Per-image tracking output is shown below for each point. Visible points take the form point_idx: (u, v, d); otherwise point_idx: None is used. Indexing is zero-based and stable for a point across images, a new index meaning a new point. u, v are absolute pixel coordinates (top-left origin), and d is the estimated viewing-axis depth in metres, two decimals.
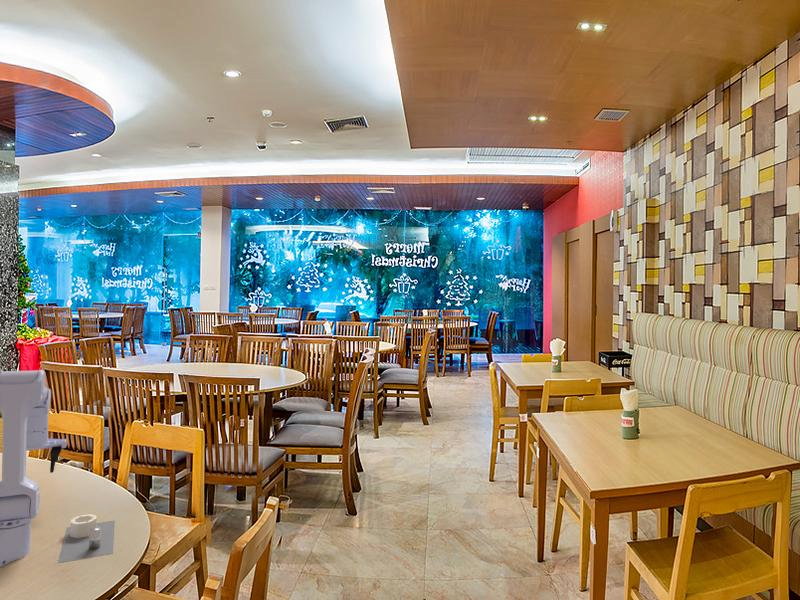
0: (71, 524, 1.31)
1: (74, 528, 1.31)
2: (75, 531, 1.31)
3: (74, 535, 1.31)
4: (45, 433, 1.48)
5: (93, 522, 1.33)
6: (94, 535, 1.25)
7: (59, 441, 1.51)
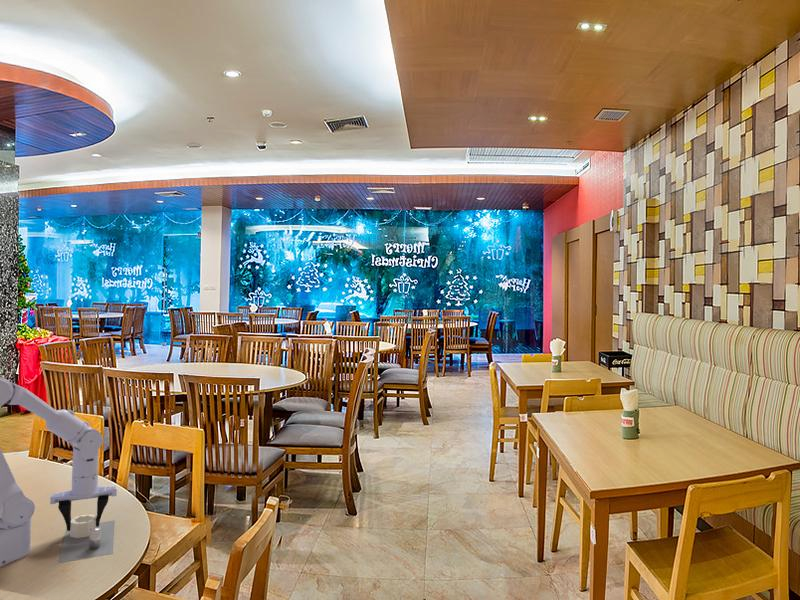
0: (71, 524, 1.31)
1: (74, 528, 1.31)
2: (75, 531, 1.31)
3: (74, 535, 1.31)
4: (95, 479, 1.34)
5: (93, 522, 1.33)
6: (94, 535, 1.25)
7: (109, 489, 1.36)
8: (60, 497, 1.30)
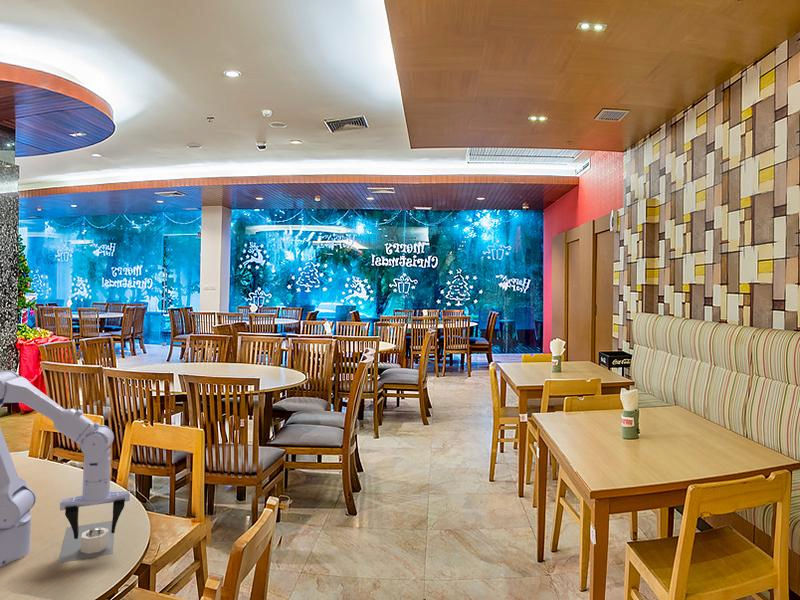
0: (82, 539, 1.24)
1: (85, 543, 1.24)
2: (86, 547, 1.24)
3: (85, 550, 1.24)
4: (107, 483, 1.26)
5: (105, 536, 1.26)
6: (94, 535, 1.25)
7: (122, 493, 1.29)
8: (70, 502, 1.23)
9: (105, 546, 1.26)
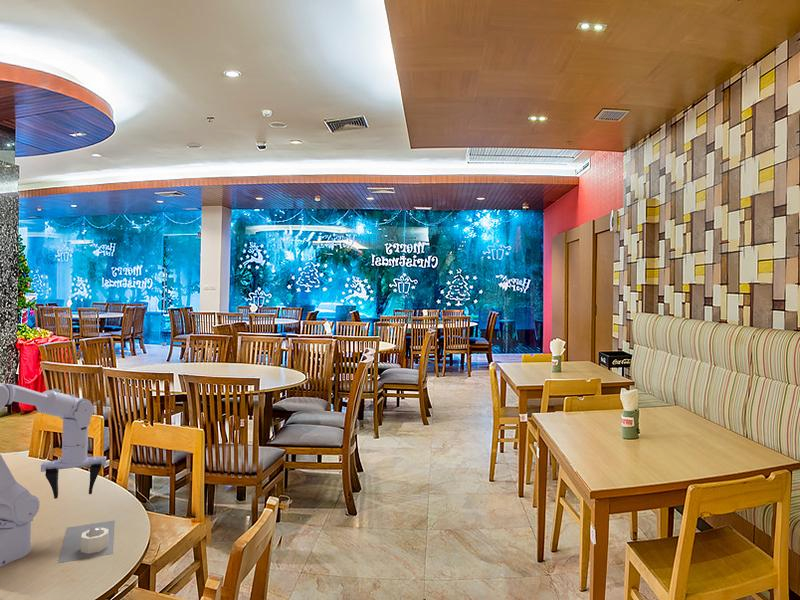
0: (82, 539, 1.24)
1: (85, 543, 1.24)
2: (86, 547, 1.24)
3: (85, 550, 1.24)
4: (85, 448, 1.37)
5: (105, 536, 1.26)
6: (94, 535, 1.25)
7: (99, 458, 1.40)
8: (50, 465, 1.34)
9: (105, 546, 1.26)
